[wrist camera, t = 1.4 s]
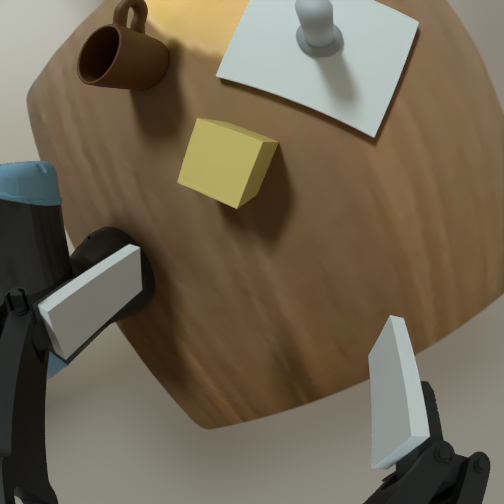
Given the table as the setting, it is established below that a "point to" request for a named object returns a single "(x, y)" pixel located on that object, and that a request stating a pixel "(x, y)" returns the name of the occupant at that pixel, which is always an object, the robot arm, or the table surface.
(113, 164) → the table surface
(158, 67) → the mug
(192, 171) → the pale yellow cube
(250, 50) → the white square plate
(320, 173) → the table surface
